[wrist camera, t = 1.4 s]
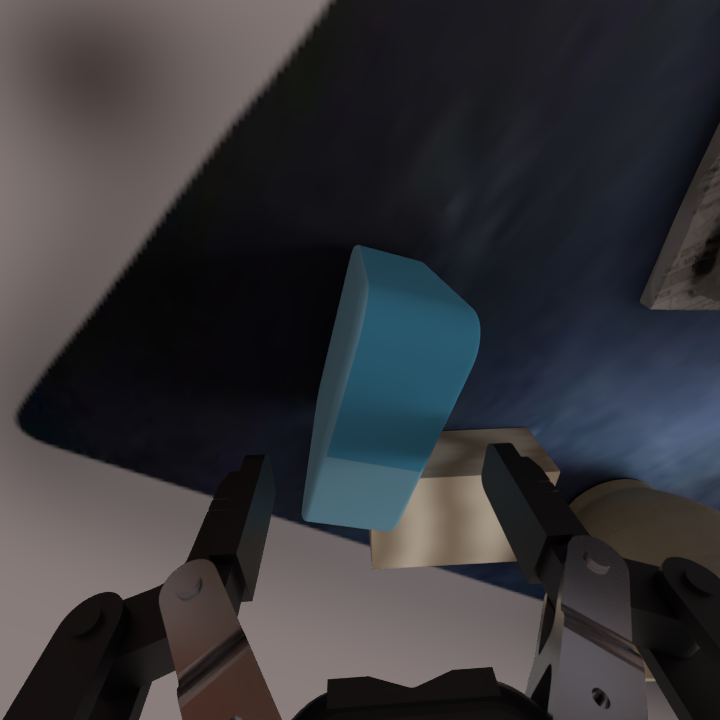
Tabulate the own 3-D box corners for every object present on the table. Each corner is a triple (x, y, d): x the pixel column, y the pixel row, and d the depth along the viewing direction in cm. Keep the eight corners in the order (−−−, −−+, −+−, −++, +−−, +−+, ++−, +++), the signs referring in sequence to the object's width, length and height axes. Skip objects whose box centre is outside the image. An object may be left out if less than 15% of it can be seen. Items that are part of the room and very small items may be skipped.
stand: (526, 427, 28) (560, 471, 24) (504, 511, 33) (528, 560, 29) (366, 434, 28) (370, 480, 23) (368, 518, 33) (371, 569, 29)
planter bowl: (671, 541, 37) (786, 665, 27) (528, 565, 38) (589, 692, 28) (708, 435, 29) (884, 554, 20) (530, 469, 31) (614, 597, 21)
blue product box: (371, 404, 26) (389, 547, 16) (317, 394, 26) (297, 536, 15) (420, 258, 21) (495, 325, 11) (354, 240, 21) (362, 293, 10)
